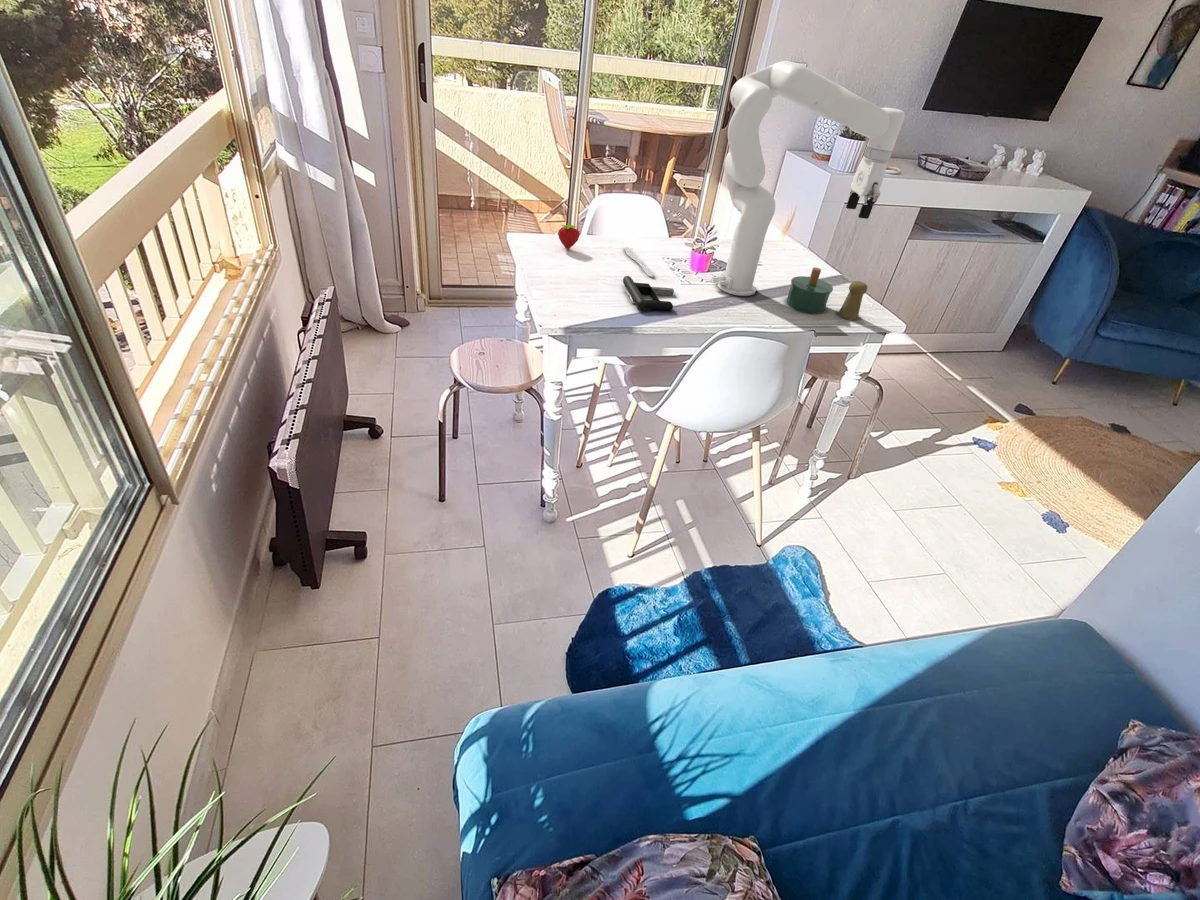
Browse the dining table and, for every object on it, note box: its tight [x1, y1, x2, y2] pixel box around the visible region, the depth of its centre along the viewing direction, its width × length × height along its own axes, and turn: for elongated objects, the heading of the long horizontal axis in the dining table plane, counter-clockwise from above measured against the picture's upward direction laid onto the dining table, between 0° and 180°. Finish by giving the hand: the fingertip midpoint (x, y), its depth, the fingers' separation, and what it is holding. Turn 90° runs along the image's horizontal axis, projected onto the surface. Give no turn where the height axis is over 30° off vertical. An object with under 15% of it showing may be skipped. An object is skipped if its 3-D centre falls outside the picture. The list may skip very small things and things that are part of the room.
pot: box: [786, 283, 831, 314], centre depth 199 cm, size 12×12×6 cm
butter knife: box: [624, 247, 655, 278], centre depth 216 cm, size 1×27×3 cm
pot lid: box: [790, 267, 834, 295], centre depth 196 cm, size 13×13×6 cm
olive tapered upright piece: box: [837, 280, 868, 321], centre depth 195 cm, size 6×6×11 cm
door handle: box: [622, 275, 675, 312], centre depth 191 cm, size 3×20×16 cm
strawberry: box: [557, 221, 581, 250], centre depth 216 cm, size 6×8×10 cm
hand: (856, 213), depth 197 cm, fingers open, 9 cm apart
